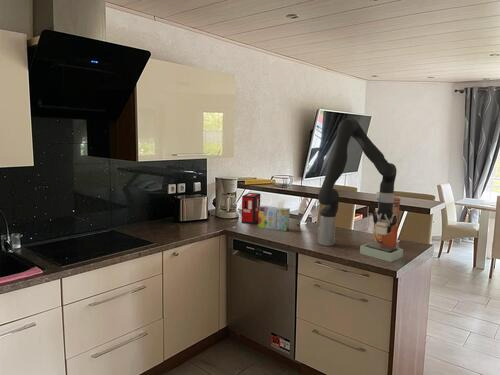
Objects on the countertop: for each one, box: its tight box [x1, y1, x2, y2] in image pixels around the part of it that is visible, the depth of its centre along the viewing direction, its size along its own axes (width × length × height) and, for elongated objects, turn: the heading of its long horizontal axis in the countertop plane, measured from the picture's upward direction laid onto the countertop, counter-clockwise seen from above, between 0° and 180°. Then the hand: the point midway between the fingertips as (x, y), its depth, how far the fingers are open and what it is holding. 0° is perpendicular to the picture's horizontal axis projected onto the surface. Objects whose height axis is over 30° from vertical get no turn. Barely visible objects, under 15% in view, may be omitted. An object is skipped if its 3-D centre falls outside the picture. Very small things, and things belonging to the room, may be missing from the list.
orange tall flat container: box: [372, 191, 401, 247], centre depth 228 cm, size 23×8×30 cm, turn 174°
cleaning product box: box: [241, 192, 261, 225], centre depth 279 cm, size 16×9×20 cm, turn 163°
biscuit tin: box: [368, 242, 398, 253], centre depth 205 cm, size 12×9×5 cm
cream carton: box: [376, 220, 391, 235], centre depth 203 cm, size 5×7×6 cm
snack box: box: [257, 204, 291, 232], centre depth 259 cm, size 21×6×15 cm, turn 63°
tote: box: [359, 241, 404, 263], centre depth 206 cm, size 18×13×5 cm
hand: (383, 231), depth 204 cm, fingers closed on cream carton, 5 cm apart
